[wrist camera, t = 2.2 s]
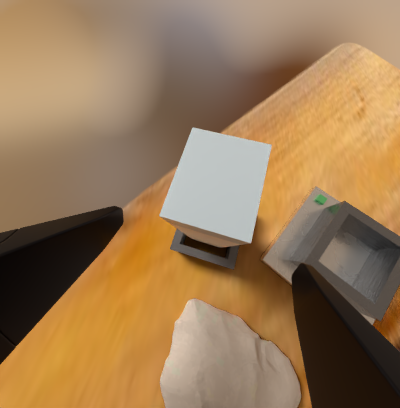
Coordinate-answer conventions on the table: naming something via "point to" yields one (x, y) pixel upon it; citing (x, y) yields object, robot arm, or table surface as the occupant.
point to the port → (340, 252)
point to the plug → (217, 188)
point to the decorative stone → (224, 364)
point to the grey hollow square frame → (226, 262)
